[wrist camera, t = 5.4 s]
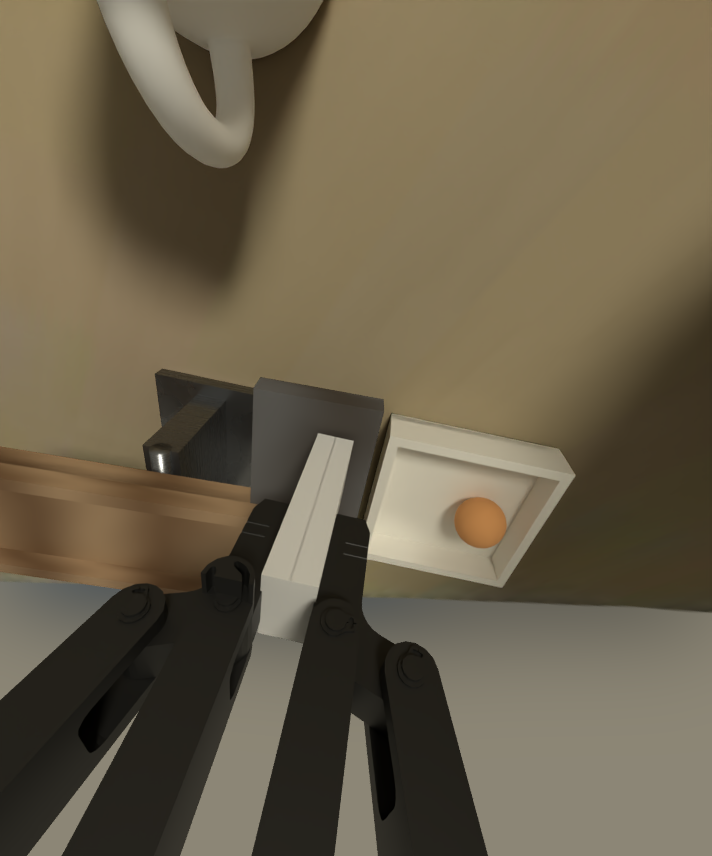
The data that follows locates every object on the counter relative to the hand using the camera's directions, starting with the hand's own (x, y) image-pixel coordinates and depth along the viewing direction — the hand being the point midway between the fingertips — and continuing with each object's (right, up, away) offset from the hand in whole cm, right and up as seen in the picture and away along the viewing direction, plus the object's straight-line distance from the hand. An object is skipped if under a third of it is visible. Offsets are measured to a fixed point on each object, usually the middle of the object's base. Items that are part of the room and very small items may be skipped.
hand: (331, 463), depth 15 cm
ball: (+9, -5, +8) cm, 13 cm away
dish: (+7, -3, +10) cm, 13 cm away
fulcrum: (-9, 0, +10) cm, 13 cm away
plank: (-9, -1, +3) cm, 9 cm away
